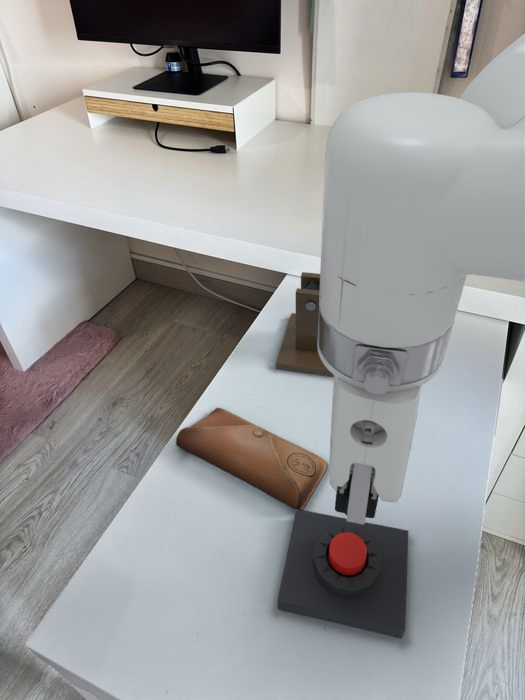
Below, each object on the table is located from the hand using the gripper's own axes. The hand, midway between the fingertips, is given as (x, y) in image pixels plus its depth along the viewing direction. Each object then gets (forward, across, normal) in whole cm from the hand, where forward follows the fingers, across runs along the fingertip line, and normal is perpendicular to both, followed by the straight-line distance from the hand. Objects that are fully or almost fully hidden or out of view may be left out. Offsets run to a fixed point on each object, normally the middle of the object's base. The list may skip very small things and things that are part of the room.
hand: (356, 495), depth 42 cm
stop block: (+15, 0, 0) cm, 15 cm away
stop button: (+12, 0, 0) cm, 12 cm away
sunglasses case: (+15, +12, +13) cm, 23 cm away
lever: (+9, +34, +6) cm, 35 cm away
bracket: (+15, +34, +9) cm, 38 cm away
